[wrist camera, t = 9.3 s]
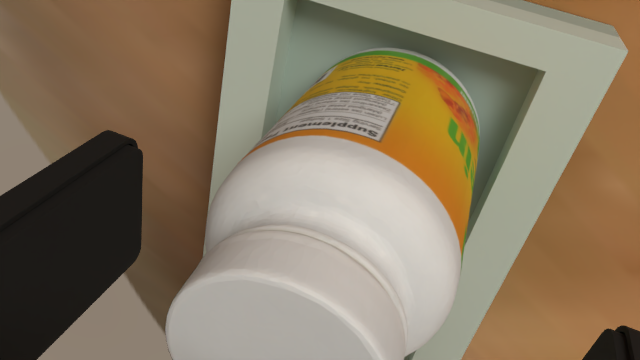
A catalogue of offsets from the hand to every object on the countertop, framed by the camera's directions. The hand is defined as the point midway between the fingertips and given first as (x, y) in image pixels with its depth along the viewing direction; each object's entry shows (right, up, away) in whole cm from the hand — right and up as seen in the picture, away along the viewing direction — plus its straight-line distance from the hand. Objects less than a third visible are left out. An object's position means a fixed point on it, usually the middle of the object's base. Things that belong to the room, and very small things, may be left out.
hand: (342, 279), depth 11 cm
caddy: (+1, 0, +10) cm, 10 cm away
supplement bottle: (+2, +4, +6) cm, 8 cm away
